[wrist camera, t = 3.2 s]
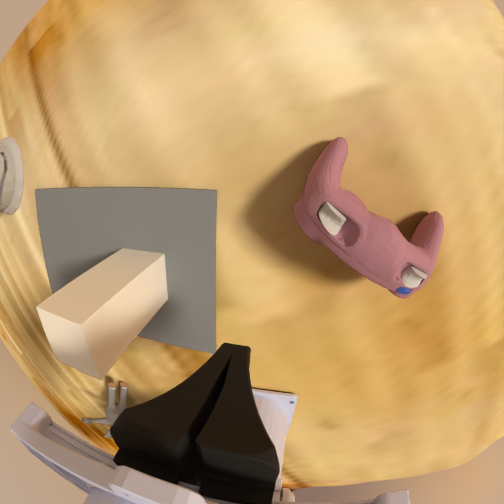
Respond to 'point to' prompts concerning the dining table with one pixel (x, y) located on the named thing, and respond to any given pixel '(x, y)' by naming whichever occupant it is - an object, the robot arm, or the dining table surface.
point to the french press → (10, 176)
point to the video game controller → (365, 229)
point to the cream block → (104, 310)
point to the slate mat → (140, 248)
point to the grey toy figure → (112, 406)
